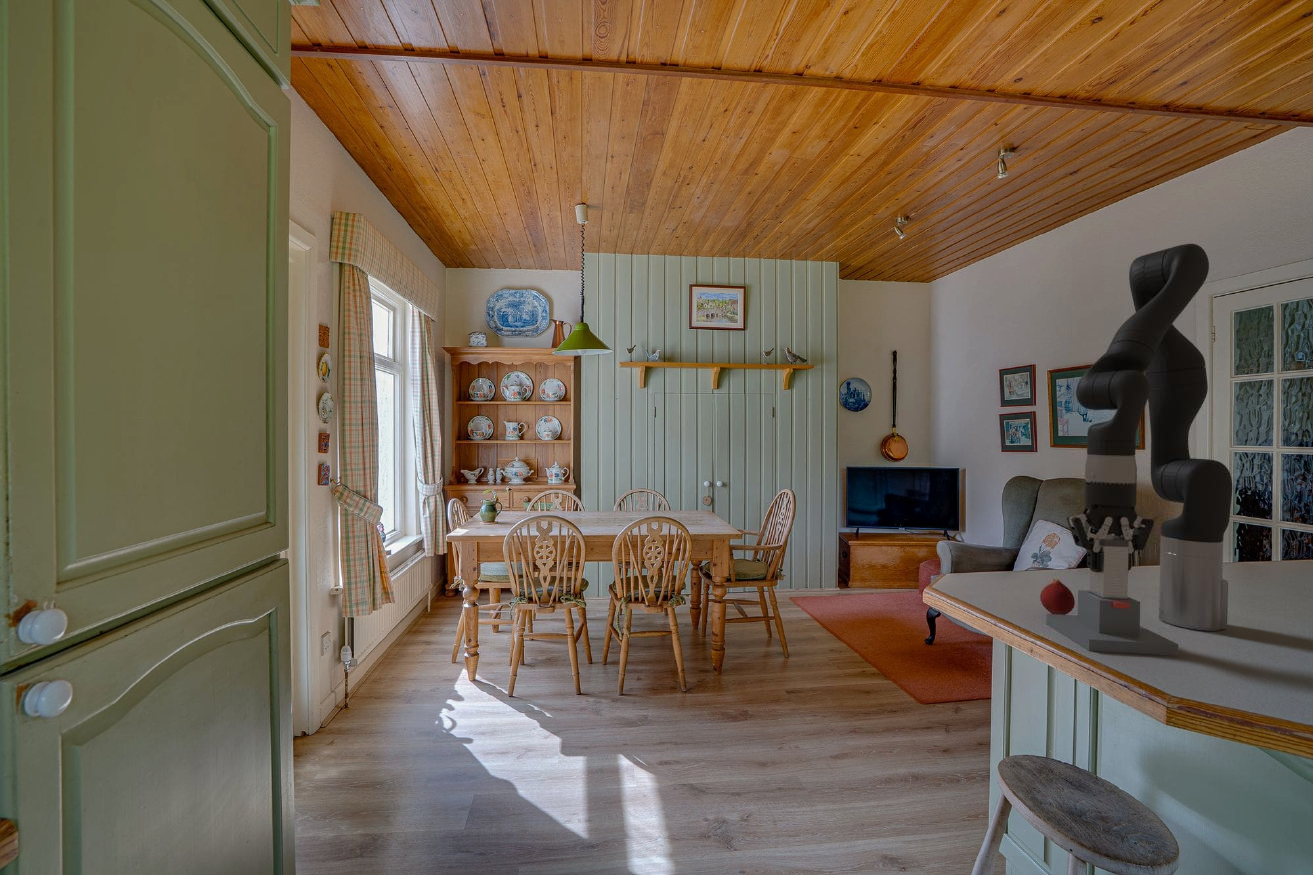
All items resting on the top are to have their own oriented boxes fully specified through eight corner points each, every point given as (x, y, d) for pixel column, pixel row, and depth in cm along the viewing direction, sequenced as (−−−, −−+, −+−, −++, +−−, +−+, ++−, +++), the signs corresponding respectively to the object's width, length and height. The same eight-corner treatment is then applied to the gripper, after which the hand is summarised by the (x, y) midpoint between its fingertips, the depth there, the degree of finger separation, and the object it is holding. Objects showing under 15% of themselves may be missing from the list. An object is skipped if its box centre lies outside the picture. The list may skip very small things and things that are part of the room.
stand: (1123, 627, 112) (1124, 587, 112) (1178, 655, 98) (1179, 609, 98) (1046, 623, 114) (1046, 583, 114) (1089, 650, 100) (1089, 605, 100)
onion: (1063, 613, 121) (1064, 575, 121) (1080, 622, 115) (1081, 582, 115) (1034, 612, 122) (1035, 574, 122) (1050, 621, 116) (1051, 581, 116)
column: (1112, 611, 108) (1114, 536, 108) (1127, 619, 104) (1129, 540, 104) (1088, 610, 109) (1090, 535, 108) (1102, 617, 105) (1104, 539, 104)
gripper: (1138, 478, 109) (1137, 568, 109) (1057, 477, 111) (1055, 565, 111) (1168, 482, 101) (1166, 578, 101) (1080, 480, 103) (1078, 575, 103)
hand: (1108, 571), depth 106 cm, fingers closed on column, 4 cm apart
